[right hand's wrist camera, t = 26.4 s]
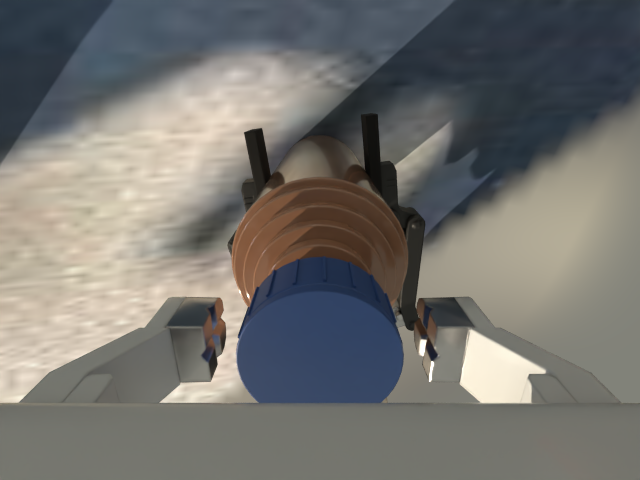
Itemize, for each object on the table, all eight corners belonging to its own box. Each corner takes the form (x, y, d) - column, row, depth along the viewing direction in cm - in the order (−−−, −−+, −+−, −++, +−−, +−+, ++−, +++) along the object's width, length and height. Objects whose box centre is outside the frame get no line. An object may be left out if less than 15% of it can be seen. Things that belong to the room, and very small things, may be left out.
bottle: (273, 204, 32) (175, 416, 10) (289, 126, 29) (201, 188, 8) (347, 221, 32) (403, 455, 11) (369, 146, 30) (498, 256, 8)
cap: (234, 264, 10) (215, 299, 8) (388, 247, 9) (404, 279, 8) (261, 380, 11) (251, 431, 9) (394, 368, 11) (408, 418, 9)
